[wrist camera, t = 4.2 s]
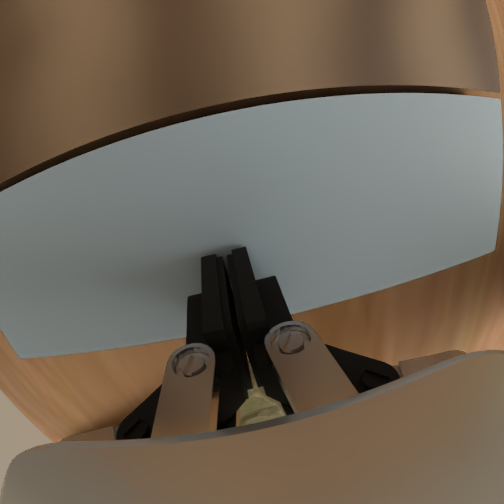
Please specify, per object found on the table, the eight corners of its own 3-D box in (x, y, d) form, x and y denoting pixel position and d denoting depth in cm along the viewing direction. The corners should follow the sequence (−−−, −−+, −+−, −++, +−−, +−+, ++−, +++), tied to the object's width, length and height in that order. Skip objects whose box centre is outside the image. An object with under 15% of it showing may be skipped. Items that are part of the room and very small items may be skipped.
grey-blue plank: (473, 96, 11) (500, 99, 9) (472, 236, 14) (494, 250, 13) (-28, 207, 10) (-51, 221, 8) (33, 336, 14) (19, 359, 12)
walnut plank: (440, -44, 7) (468, -53, 5) (469, 87, 11) (500, 93, 9) (-55, 64, 6) (-83, 67, 4) (-27, 198, 10) (-53, 216, 8)
